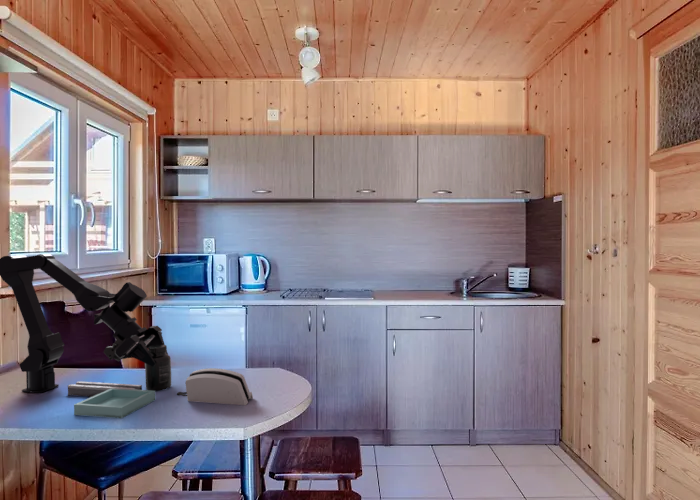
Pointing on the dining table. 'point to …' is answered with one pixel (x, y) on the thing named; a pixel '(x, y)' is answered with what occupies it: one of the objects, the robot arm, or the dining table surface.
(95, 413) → the tray
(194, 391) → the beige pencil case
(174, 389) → the dining table surface
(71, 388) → the t-slot rail
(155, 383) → the supplement bottle
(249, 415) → the dining table surface
